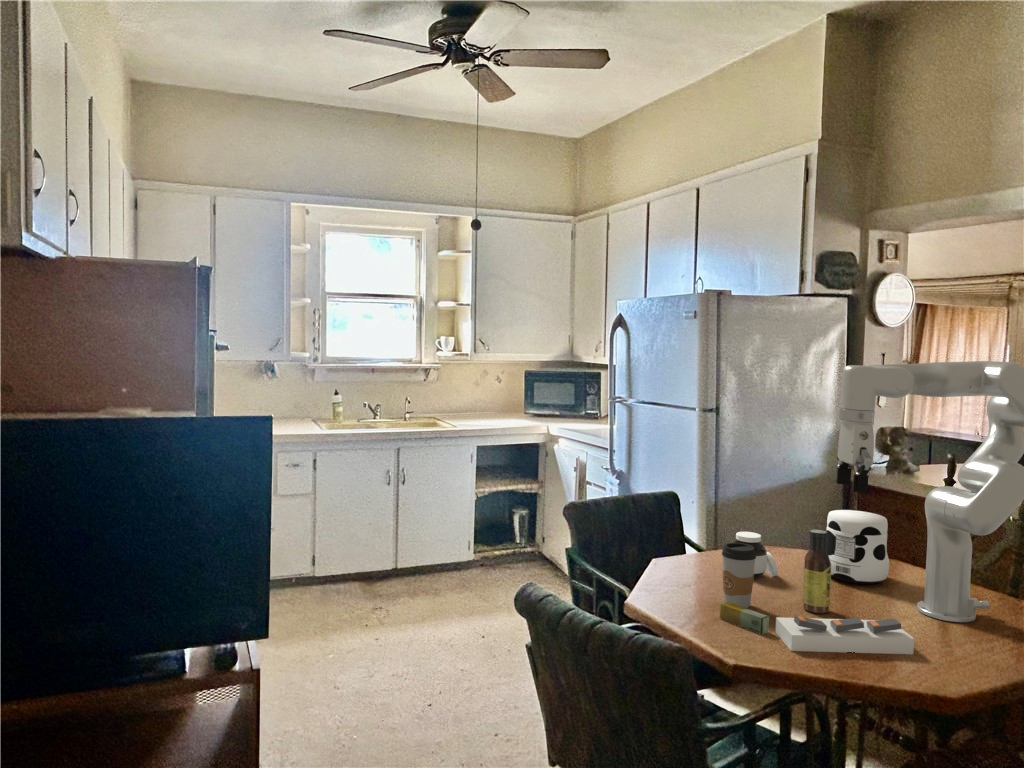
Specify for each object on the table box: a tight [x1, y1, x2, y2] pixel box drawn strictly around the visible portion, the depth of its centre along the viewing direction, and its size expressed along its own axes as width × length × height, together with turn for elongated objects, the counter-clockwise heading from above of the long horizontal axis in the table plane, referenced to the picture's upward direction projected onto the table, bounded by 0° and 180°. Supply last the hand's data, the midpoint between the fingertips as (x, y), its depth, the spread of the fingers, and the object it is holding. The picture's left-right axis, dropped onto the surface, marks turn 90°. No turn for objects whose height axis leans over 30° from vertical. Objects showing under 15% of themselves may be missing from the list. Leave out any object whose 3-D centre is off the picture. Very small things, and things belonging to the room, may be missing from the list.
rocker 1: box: [793, 615, 827, 631], centre depth 159 cm, size 6×3×1 cm, turn 89°
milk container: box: [826, 509, 890, 585], centre depth 206 cm, size 17×17×18 cm
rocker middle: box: [830, 617, 864, 632], centre depth 158 cm, size 6×3×1 cm, turn 88°
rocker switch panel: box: [775, 617, 915, 655], centre depth 161 cm, size 26×10×4 cm, turn 89°
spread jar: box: [732, 531, 779, 579], centre depth 207 cm, size 12×11×12 cm
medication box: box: [719, 601, 770, 635], centre depth 170 cm, size 12×3×4 cm, turn 37°
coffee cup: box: [721, 542, 756, 609], centre depth 183 cm, size 8×8×15 cm
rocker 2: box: [867, 617, 903, 633], centre depth 158 cm, size 6×3×1 cm, turn 88°
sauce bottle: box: [802, 529, 832, 614], centre depth 180 cm, size 6×6×20 cm
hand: (851, 487), depth 174 cm, fingers open, 9 cm apart
